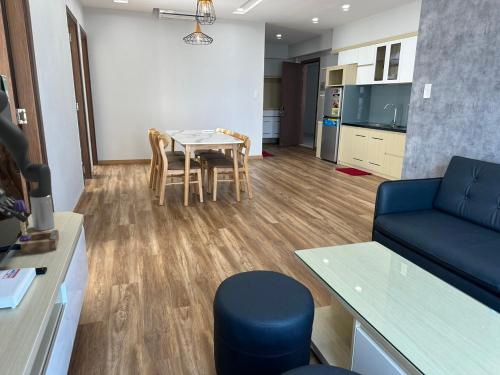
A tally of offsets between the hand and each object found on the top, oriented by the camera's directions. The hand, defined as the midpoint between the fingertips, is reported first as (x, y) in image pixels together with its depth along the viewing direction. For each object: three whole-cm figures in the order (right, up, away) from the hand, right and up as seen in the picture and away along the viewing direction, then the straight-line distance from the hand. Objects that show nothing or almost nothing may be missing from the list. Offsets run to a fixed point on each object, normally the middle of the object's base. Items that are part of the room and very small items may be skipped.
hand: (27, 218), depth 141 cm
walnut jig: (-5, -14, +17) cm, 23 cm away
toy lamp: (-2, -9, +1) cm, 10 cm away
